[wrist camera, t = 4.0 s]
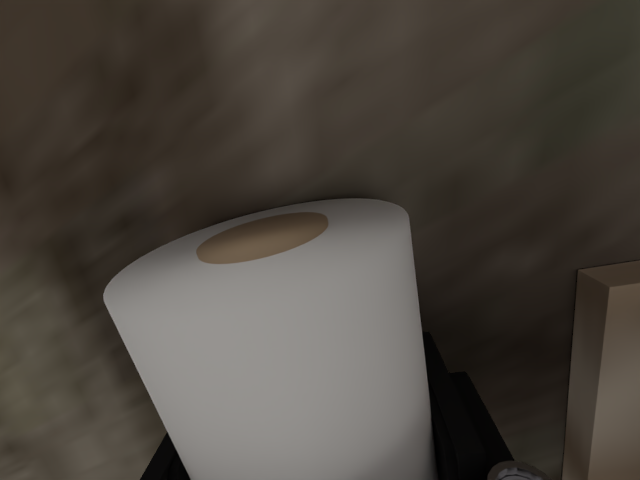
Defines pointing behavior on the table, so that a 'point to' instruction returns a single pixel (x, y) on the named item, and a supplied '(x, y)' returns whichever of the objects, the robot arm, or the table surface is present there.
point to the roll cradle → (605, 376)
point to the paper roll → (285, 344)
